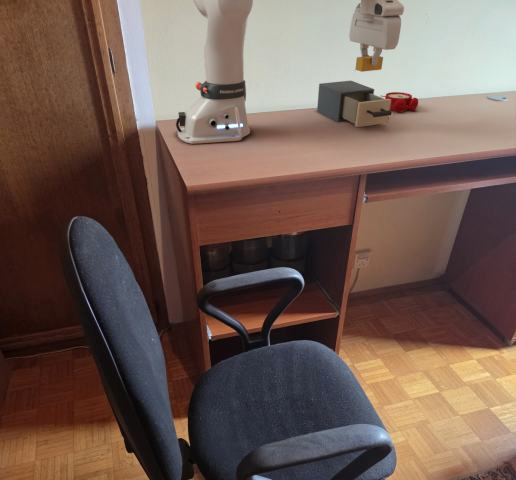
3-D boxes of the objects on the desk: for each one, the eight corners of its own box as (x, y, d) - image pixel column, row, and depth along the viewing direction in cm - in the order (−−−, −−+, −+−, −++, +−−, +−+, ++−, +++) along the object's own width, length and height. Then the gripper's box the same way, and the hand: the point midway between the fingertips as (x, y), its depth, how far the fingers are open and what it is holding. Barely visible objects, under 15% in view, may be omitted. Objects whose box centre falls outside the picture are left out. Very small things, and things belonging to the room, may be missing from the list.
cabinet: (370, 117, 152) (374, 89, 147) (337, 121, 149) (340, 92, 143) (347, 107, 162) (350, 80, 157) (317, 111, 159) (319, 83, 153)
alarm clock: (400, 91, 165) (427, 89, 153) (399, 110, 168) (425, 110, 156) (376, 93, 162) (401, 92, 150) (375, 113, 165) (400, 113, 153)
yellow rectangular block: (361, 71, 132) (362, 59, 130) (355, 69, 134) (356, 57, 132) (381, 69, 134) (383, 57, 132) (375, 67, 136) (376, 55, 134)
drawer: (396, 127, 141) (400, 103, 136) (365, 131, 137) (369, 107, 133) (364, 112, 154) (367, 90, 149) (335, 116, 150) (337, 93, 146)
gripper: (347, 3, 130) (341, 58, 139) (388, 8, 116) (379, 70, 125) (365, 2, 132) (359, 57, 141) (408, 7, 118) (398, 68, 127)
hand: (369, 63), depth 133 cm, fingers closed on yellow rectangular block, 3 cm apart
